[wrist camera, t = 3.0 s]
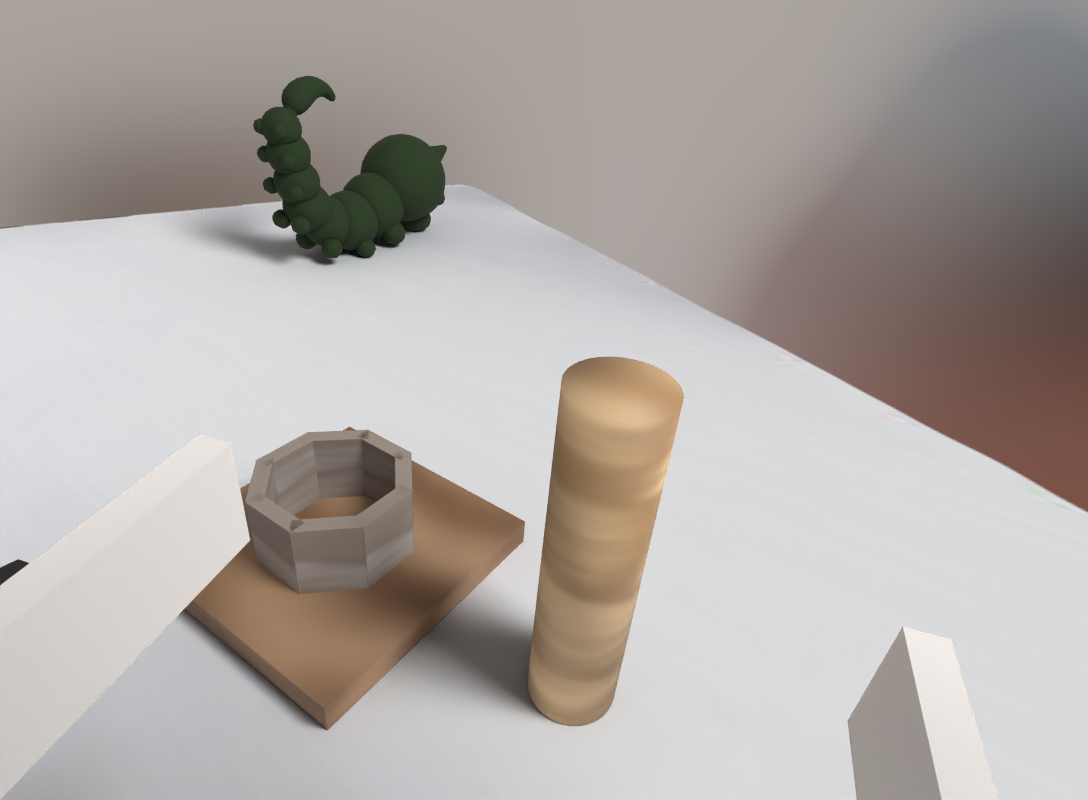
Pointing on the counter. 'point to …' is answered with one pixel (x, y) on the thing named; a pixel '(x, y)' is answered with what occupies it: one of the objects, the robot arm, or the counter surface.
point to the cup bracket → (347, 565)
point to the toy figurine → (367, 200)
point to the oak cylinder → (598, 529)
